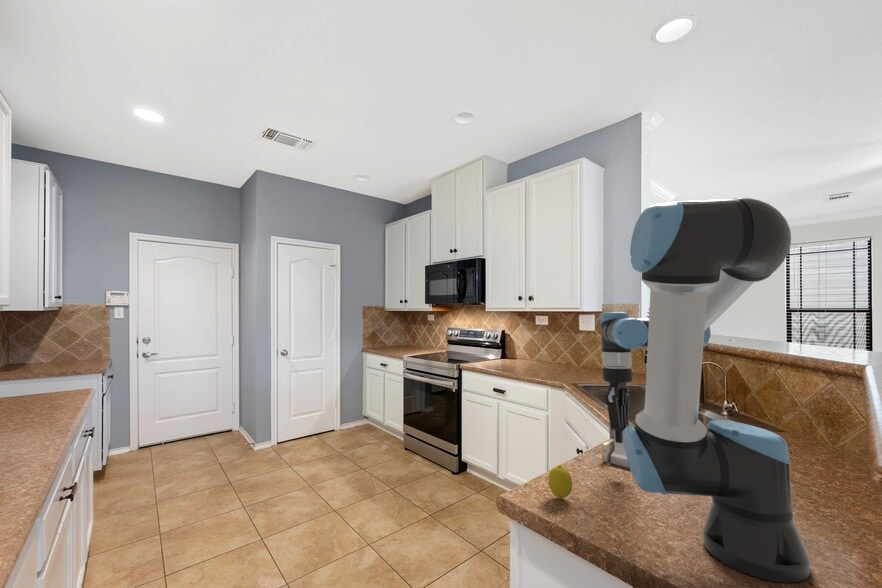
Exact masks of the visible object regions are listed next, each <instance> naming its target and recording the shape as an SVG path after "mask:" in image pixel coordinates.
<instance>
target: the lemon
mask: <svg viewBox="0 0 882 588" xmlns="http://www.w3.org/2000/svg"><path fill="white" fill-rule="evenodd" d="M548 486H549V489H550V491H551V493H552V495H554V496H555V497H557V498H558V499H559V500H563V499H565V498H566V497H569V495H571V493H572V490H573V477H572V475H571V473H570V471H569V469H568V468H565V466H562V465H560V464H558V465H557V466H554V467H553V468H552V469H551V470H550V471H549V475H548Z"/></svg>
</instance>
